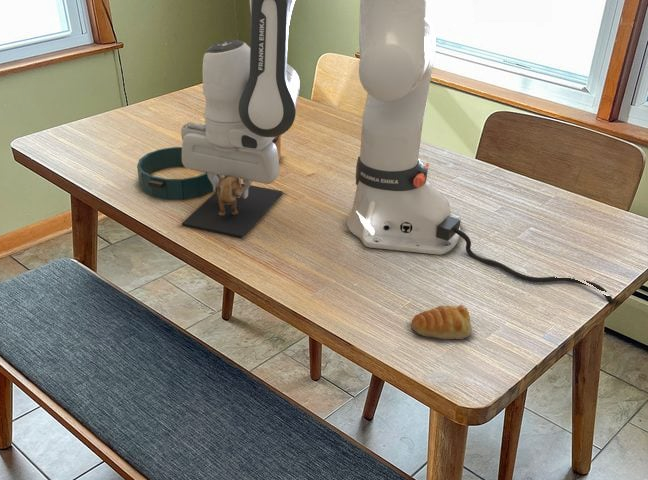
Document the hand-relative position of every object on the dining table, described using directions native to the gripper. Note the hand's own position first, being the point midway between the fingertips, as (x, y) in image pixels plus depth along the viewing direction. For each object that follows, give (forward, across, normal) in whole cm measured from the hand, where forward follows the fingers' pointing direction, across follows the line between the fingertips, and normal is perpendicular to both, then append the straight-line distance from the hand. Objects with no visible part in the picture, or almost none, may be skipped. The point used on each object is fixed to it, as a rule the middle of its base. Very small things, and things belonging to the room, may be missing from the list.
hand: (231, 194), depth 150 cm
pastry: (+3, +50, -25) cm, 56 cm away
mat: (+3, +1, 0) cm, 3 cm away
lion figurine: (+3, +1, -1) cm, 3 cm away
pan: (+3, -16, +7) cm, 18 cm away
